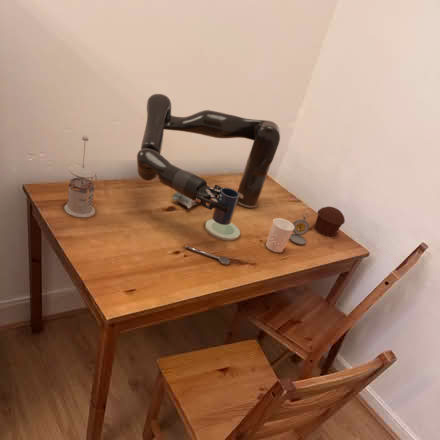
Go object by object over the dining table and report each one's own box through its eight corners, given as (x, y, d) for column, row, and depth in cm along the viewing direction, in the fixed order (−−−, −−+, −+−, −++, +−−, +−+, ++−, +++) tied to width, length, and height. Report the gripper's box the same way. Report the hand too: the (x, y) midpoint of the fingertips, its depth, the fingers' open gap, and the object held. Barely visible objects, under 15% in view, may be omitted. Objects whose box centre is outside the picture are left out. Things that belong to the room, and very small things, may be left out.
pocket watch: (294, 246, 163) (304, 223, 157) (283, 233, 168) (292, 211, 162) (311, 245, 167) (321, 223, 161) (299, 233, 173) (308, 211, 167)
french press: (57, 208, 140) (60, 133, 125) (79, 197, 149) (85, 125, 134) (83, 220, 139) (89, 145, 124) (104, 208, 148) (112, 137, 133)
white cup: (286, 246, 161) (296, 223, 155) (282, 256, 155) (292, 232, 149) (266, 238, 162) (276, 215, 156) (261, 247, 156) (271, 224, 150)
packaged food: (206, 205, 170) (208, 193, 167) (187, 212, 161) (190, 201, 158) (188, 195, 173) (191, 184, 170) (169, 202, 164) (172, 190, 161)
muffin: (337, 228, 185) (347, 208, 179) (338, 241, 176) (349, 220, 170) (311, 220, 185) (320, 199, 179) (310, 232, 176) (320, 210, 170)
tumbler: (214, 212, 145) (222, 185, 139) (232, 218, 144) (240, 192, 138) (210, 220, 140) (218, 192, 134) (228, 227, 139) (237, 199, 133)
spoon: (186, 245, 144) (187, 242, 143) (230, 260, 144) (231, 258, 143) (183, 250, 141) (184, 248, 140) (228, 266, 141) (229, 264, 140)
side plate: (209, 217, 163) (210, 214, 162) (242, 228, 163) (242, 226, 162) (201, 232, 153) (201, 230, 152) (235, 244, 152) (236, 242, 152)
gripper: (180, 180, 134) (226, 203, 130) (202, 169, 145) (245, 190, 141) (175, 201, 138) (219, 224, 135) (196, 189, 149) (238, 210, 146)
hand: (232, 206), depth 138 cm, fingers closed on tumbler, 6 cm apart
